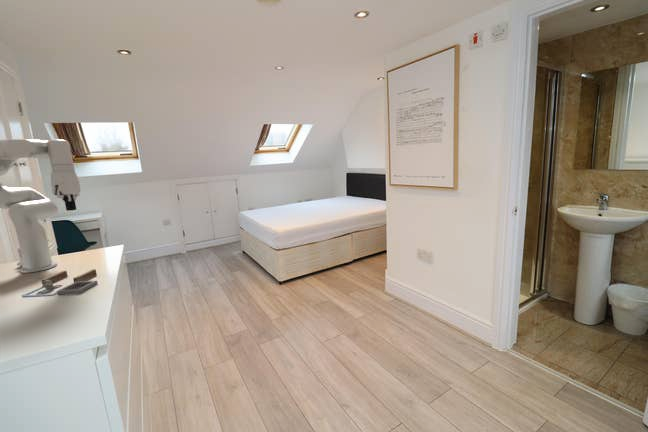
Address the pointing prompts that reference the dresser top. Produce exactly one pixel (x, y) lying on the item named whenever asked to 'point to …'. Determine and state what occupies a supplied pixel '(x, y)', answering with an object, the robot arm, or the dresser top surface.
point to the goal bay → (37, 295)
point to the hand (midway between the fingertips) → (71, 210)
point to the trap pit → (77, 287)
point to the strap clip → (48, 287)
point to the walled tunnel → (64, 274)
